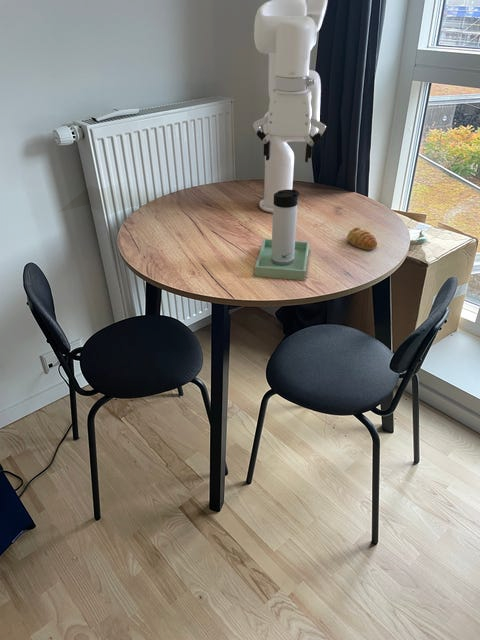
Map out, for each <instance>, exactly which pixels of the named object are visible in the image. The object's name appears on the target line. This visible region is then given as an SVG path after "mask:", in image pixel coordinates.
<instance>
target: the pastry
mask: <svg viewBox="0 0 480 640" xmlns="http://www.w3.org/2000/svg"><path fill="white" fill-rule="evenodd" d="M346 239H347V241H348V242H349V243H350V244H351V245H353V246H354V247H355V246H356V247H357V248H359V249H362V250H367V251H370V250H373V249H375V248H377V246H378V244H379V243H378V241H377V238H375V237H374V235H373V234H372V233H371V231H368V229H362V228H361V227H354V228H352V229H351V230H349V232H348V233H347V235H346Z"/></svg>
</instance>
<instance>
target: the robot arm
mask: <svg viewBox="0 0 480 640" xmlns="http://www.w3.org/2000/svg"><path fill="white" fill-rule="evenodd" d="M328 1H329V0H268V1H266V2H264V3H263V4H262V5H260V6H259V7H258V9H257V10H256V11H257V12H256V14H255V17H254V24H253V25H254V27H253V40H254V45H255V48H256V50H257V51H258V52H259V53H261V54H264V55H268V85H267V87H268V97H269V102H268V103H269V104H268V110H267V112H266V113H265V114H264V116H263V117H262V118H260V119H257V120H255V121H254V122H253V123H252V128H253V129H254V131H255V133H256V136H257V137H258V138H259V139H260V140H261V142H262V144H263V157H264V185H263V186H264V187H263V188H264V189H263V198H262V199H261V200H260V201H259V203H258V206H259V208H260V209H261V210H262V211H264V212H267V213H272V214H273V202H274V194H275V193H277V192H278V191H280V190H288V189H290V190H293V187H294V186H293V184H294V183H293V182H294V170H295V169H294V167H295V154H294V151H293V149H292V148H291V146H290V145H289V144H288V143H291V142H300V143H301V142H303V143H304V142H306V145H305V156H304V162H305V163H309V159H312V156H313V147H314V145H315V144H316V142H318V141H319V140H320V139H321V137H322V136H323V134H324V133H325V131H326V129H327V125H326V124H325V123H323V122H321V121H320V118H321V117H320V115H321V96H322V95H321V93H322V83H321V77H320V74H319V73H318V72H317V71H315V70H313V69H310V63H311V52H312V50H313V48H314V46H316V43H317V39H318V32H319V31H320V29H321V27H322V24H323V21H324V18H325V15H326V11H327V7H328ZM261 126H262V127H261ZM262 128H263V130H262Z"/></svg>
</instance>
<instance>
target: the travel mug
mask: <svg viewBox="0 0 480 640" xmlns="http://www.w3.org/2000/svg"><path fill="white" fill-rule="evenodd" d="M299 196H300V192H299V191H298V190H296V189H292V190H290V189H288V190H280V191H278V192H277V193H275V194H274V202H273V213H272V227H271V230H272V231H271V239H272V253H271V261H272V262H273V263H274V264H276V265H281V266H285V265H289V264H291V263H293V261H294V249H295V241H296V233H297V232H296V231H297V220H298V219H297V217H298V201H299V200H298V198H299Z"/></svg>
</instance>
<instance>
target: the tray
mask: <svg viewBox="0 0 480 640" xmlns="http://www.w3.org/2000/svg"><path fill="white" fill-rule="evenodd" d="M309 248H310V241H303V240H302V241H301V240H295V249H294V261H293V263H291V264H289V265H285V266H281V265H276V264H274V263H273V262H272V261H271V253H272V238H263V240H262V243H261V246H260V249H259V252H258V256H257V259H256V262H255V265H254V277H261V278H262V277H263V278H273V279H285V280H296V281H305V278H306V271H307V264H308V257H309Z"/></svg>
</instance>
